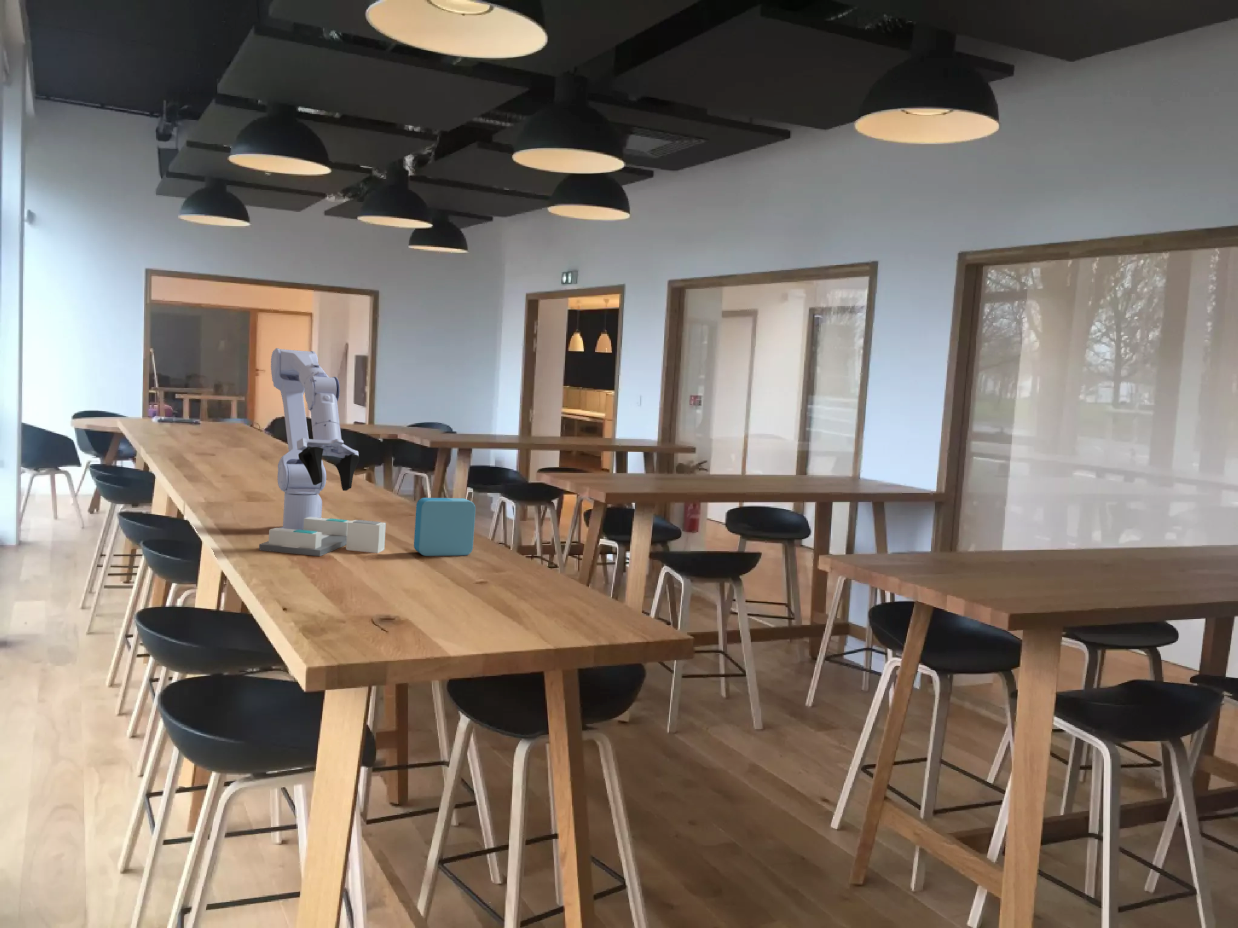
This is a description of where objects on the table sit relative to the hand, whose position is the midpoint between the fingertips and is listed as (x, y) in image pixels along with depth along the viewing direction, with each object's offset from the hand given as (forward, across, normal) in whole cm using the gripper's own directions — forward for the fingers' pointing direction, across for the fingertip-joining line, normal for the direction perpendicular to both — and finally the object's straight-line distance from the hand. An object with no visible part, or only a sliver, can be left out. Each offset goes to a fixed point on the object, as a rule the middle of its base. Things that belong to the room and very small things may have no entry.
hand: (332, 486), depth 201 cm
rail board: (+8, +4, +13) cm, 16 cm away
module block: (+12, +10, +4) cm, 16 cm away
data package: (+15, +22, -8) cm, 28 cm away
